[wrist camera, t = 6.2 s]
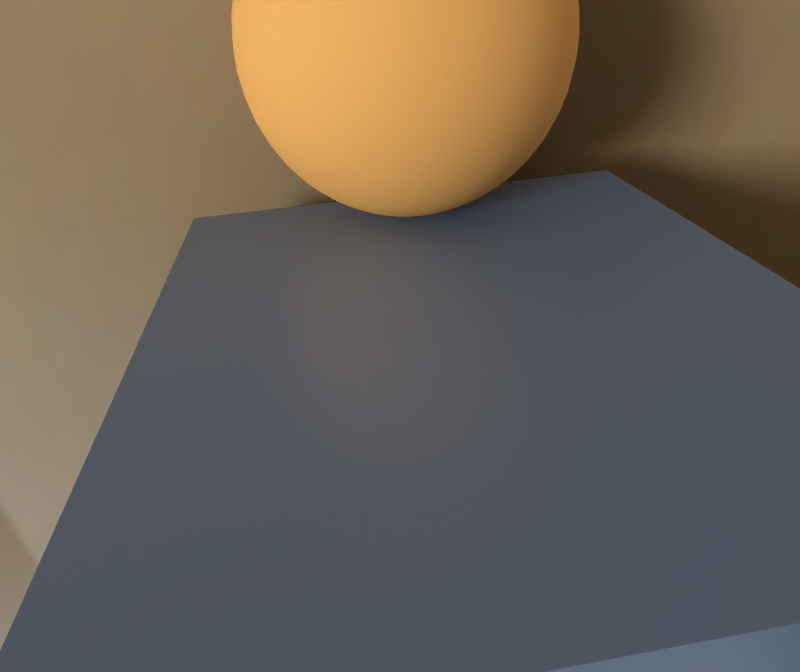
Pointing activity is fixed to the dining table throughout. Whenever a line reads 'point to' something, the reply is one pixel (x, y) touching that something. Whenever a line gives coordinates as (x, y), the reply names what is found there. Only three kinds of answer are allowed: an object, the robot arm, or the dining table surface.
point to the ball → (405, 92)
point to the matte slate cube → (442, 451)
